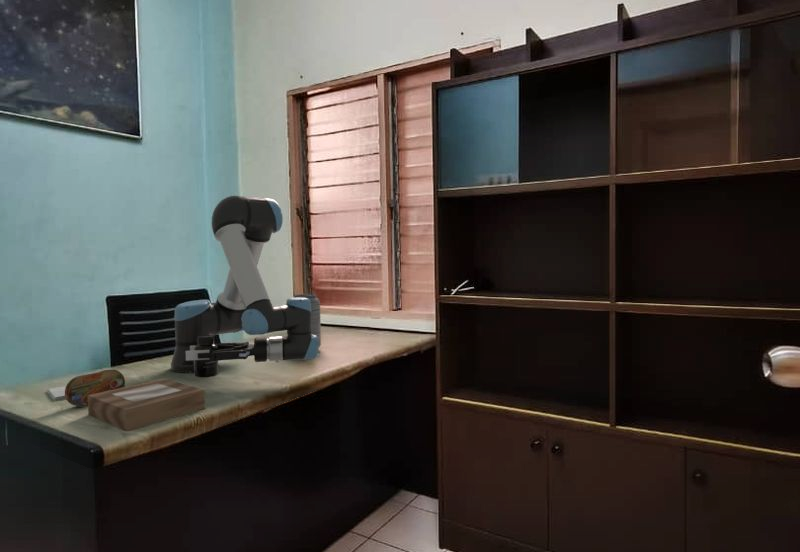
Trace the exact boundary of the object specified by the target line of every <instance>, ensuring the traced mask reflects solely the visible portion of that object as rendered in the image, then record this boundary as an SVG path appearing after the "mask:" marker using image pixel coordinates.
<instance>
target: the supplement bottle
mask: <svg viewBox="0 0 800 552" xmlns="http://www.w3.org/2000/svg"><path fill="white" fill-rule="evenodd" d="M197 340H198V341H197V343H198V345H196V346H195V348H194V351H195V350H209V349H210V348H211V349H212V351H213V350H218V346H217V345H216V343H215V335H200V336H198V337H197ZM193 373H194V376H195V377H196V378H200V379H201V378H202V379H203V378H206V379H207V378H213V377H216V376H217V375H218V374H219V361H211V360H210V359H207V360H194V372H193Z"/></svg>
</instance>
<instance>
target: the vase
mask: <svg viewBox="0 0 800 552" xmlns="http://www.w3.org/2000/svg"><path fill="white" fill-rule="evenodd" d="M296 297H302V298H308V299H309V300H310V302H311V311H312V313H311V332H312V334H313V335H317V337H318V349H319V348H320V347H321V345H322V336H321V335H322V334H321V333H322V332H321V301H320V299H319V298H318V297H317V294H315V293H298V294H294V297H293V298H296Z"/></svg>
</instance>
